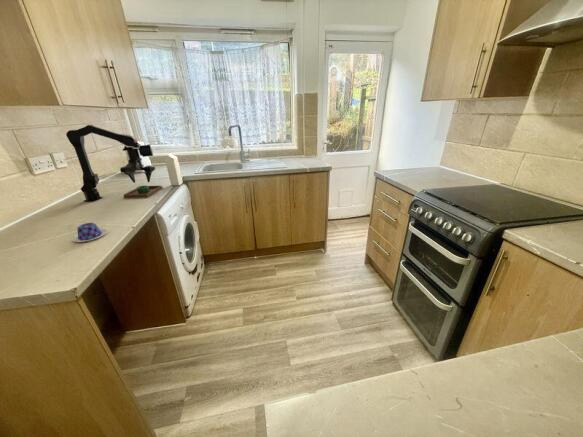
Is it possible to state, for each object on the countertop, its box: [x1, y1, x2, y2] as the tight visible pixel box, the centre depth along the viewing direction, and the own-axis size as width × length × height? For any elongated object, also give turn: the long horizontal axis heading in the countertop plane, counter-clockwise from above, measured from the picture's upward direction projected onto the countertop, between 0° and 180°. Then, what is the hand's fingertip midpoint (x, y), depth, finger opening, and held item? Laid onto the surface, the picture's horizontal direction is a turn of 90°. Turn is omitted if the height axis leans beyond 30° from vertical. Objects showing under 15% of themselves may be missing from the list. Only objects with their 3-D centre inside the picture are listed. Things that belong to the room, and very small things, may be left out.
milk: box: [164, 152, 184, 187], centre depth 170 cm, size 6×6×22 cm
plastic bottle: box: [123, 137, 152, 174], centre depth 213 cm, size 15×15×28 cm
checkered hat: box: [71, 222, 108, 243], centre depth 101 cm, size 12×12×5 cm
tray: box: [122, 185, 163, 199], centre depth 157 cm, size 15×19×2 cm
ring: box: [136, 185, 150, 194], centre depth 156 cm, size 6×6×4 cm
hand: (141, 182), depth 154 cm, fingers open, 9 cm apart
